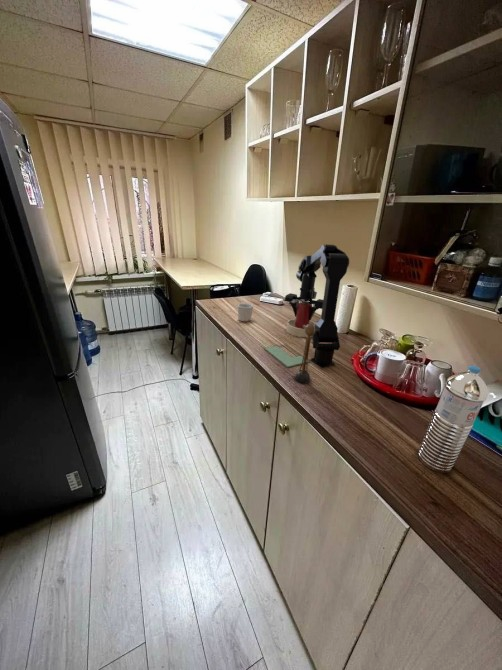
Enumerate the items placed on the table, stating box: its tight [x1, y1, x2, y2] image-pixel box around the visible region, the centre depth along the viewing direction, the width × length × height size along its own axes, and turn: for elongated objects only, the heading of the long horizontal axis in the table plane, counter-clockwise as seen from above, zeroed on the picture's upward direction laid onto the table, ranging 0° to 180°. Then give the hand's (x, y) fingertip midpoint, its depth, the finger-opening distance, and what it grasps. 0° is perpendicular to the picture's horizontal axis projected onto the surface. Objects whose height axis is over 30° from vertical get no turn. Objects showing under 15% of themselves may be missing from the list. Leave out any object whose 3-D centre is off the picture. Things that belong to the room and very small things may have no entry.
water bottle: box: [417, 364, 489, 474], centre depth 58 cm, size 7×7×25 cm
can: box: [295, 302, 313, 329], centre depth 127 cm, size 7×7×11 cm
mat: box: [264, 345, 310, 368], centre depth 107 cm, size 16×10×1 cm, turn 29°
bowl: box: [285, 318, 316, 338], centre depth 130 cm, size 14×14×4 cm
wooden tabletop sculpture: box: [294, 324, 315, 384], centre depth 89 cm, size 6×5×20 cm
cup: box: [237, 302, 254, 322], centre depth 141 cm, size 11×8×8 cm
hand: (303, 318), depth 128 cm, fingers closed on can, 6 cm apart
